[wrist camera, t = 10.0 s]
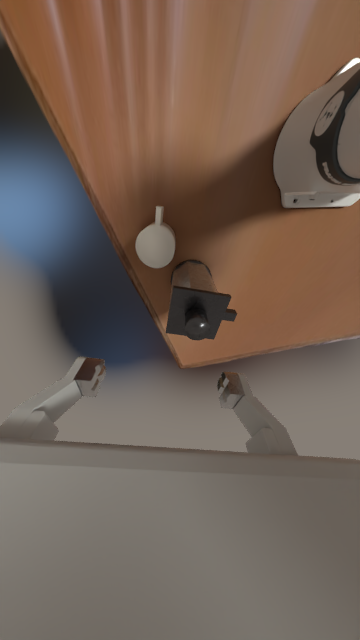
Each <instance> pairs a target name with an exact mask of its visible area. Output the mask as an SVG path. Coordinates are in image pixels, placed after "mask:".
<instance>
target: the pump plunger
mask: <svg viewBox="0 0 360 640" xmlns="http://www.w3.org/2000/svg"><path fill="white" fill-rule="evenodd" d="M185 332H186V335H187V337H189V338H190V339H192V340H202V339H204V338H206V337H207V336H208V335H209V334H210V326H209V322H208V317H207V314H206V312H205V311H203V310H201V309H192V310H190V311H188V312H187V314H186V315H185Z"/></svg>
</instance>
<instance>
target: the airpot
mask: <svg viewBox="0 0 360 640" xmlns="http://www.w3.org/2000/svg"><path fill="white" fill-rule="evenodd" d="M171 285H172V286H171V295H170V304H169V313H168V322H167V328H166V333H170V334H177V335H185V336H187V335H186V332H185V315H186V314H187V312H188V311H190V310H192V309H201V310H203V311H205V312H206V314H207V317H208V322H209V326H210V334H209V335H208V336H207V337H206V338H207V339H214V338H215V335H216V333H217V331H218V328H219V326H220V323H221V321H222V320H227V321H234V320H235V317H236V315H237V313H236V311H235V310H233V309H227V307H228V304H229V302H230V299H231V296H230V295H229V294H223V293H218V291H217V289H216V286H215V284H214V281H213V279H212V276H211V273H210V270H209V269H208V267H207V266H206V265H205V264H204V263H202V262H200V261H197V260H187V261H184V262H182V263H180V264H179V265H178V266H177V267H176V268H175V269H174V271H173V273H172V276H171Z"/></svg>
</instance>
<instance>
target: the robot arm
mask: <svg viewBox="0 0 360 640" xmlns="http://www.w3.org/2000/svg"><path fill="white" fill-rule="evenodd" d="M273 170H274V176H275V180H276V182H277V184H278V186H279V188H280V190H281V201H282V206H283V207H284V208H307V207H345V206H351V205H352V204H354V203H355V202H356V201H357V200H359V199H360V59H359V58H354V59H352V60H351V61H349V62H347V63H346V64H345V65H344V66H343V67H342V68H341V69H340V70H339V71H338V72H337V73H336V74H335V75H334V77H333V78H332V79H331V80H330V81H329V82H328V83H326V84H325V85H323V86H322V87H320V88H318V89H317V90H315V91H313V92H312V93H311V94H309V95H308V96H307V97H306V98H305V99H303V100H302V101H301V102H300V104H299V105H298V106H297V107H296V108H295V109H294V111H293V112H292V113H291V115H290V116H289V118H288V120H287V121H286V123H285V125H284V127H283V129H282V131H281V133H280V136H279V138H278V141H277V144H276V148H275V153H274V160H273ZM294 199H296V201H295V202H294V203H293V201H294ZM104 363H105V362H104V359H96V358H88V357H78V358H77V359H76V361H75V362H74V364H73V365H72V367H71V368H70V370H69V371H68V373H67V374H66V376H65V377H64V379H60V380H58V381H57V382H55V383H53V384H52V385H51V386H49V387H47V388H46V389H44V390H43V391H41V392H40V393H38V394H36V395H35V396H33V397H32V398H30V399H29V400H27V401H25V402H24V403H22V404H21V405H19V406H18V407H16V408H15V409H14V410H13V411H12V412H11V414H10V415H9V416H8V417H7V419H6V420H5V421H4V422H3V424H2V425H1V426H0V640H360V460H356V459H346V458H329V457H313V456H298V454H297V452H296V450H295V448H294V445H293V443H292V441H291V439H290V437H289V434H288V432H287V430H286V428H285V427H284V426H283V425H282V424H281V423H280V422H279V421H278V420H277V419H276V418H275V417H274V416H273V415H272V414H271V413H270V412H269V411H268V410H267V409H266V407H264V405H262V403H261V402H260V401H259V400H258V399H257V398H256V397H253V395H252V392H251V389H250V387H249V384H248V381H247V378H246V376H245V374H241V373H231V372H222V374H221V377H220V378H219V380H218V384H217V388H218V392H219V393H220V394H221V395H220V397H219V399H220V404H221V408H231V409H233V410H234V412H235V413H236V415H237V416H238V418H239V419H240V421H241V422H242V423H243V425H244V427H245V428H246V429H247V431H248V432H249V434H250V435H251V437H252V438H251V439H249V440H248V441H247V442H246V447H247V451H248V452H231V451H214V450H199V449H182V448H166V447H150V446H149V447H148V446H133V445H117V444H99V443H84V442H67V441H54V439H55V437H56V435H57V434H58V428H57V427H56V426H55V425H54V422H55V421H56V420H57V419H58V418H59V417H60V416H62V415H63V414H64V413H65V412H66V411H67V410H68V409H69V408H70V407H71V406H73V405H74V404H75V403H76V402H77V401H78V400H79V399H80V398H81V397H82V396H89V397H96V396H97V393H98V391H99V389H100V384H99V383H101V382H102V381H103V379H104V377H105V373H106V367H105V366H104Z"/></svg>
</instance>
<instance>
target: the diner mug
mask: <svg viewBox="0 0 360 640" xmlns="http://www.w3.org/2000/svg"><path fill="white" fill-rule="evenodd" d="M163 210H164V207H163V206H156V218H155V222H154V223H151V224H150V225H149V226H147V227H146V228H145V229H143V230H142V231H141V232H140V233H139V235H138V236H137V239H136V245H135V246H136V252H137V255H138V257H139V258H140V260H141V261H142V262H143V263H144V264H146V265H147V266H149V267H152V268H162V267H164V266H166V265H168V264H169V263H170V262H171V260H172V258H173V256H174V252H175V244H176V237H175V233H174V231H173V229H172V228H171V227H170V226H169V225H168V224H166V223H164V222H163Z"/></svg>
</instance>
